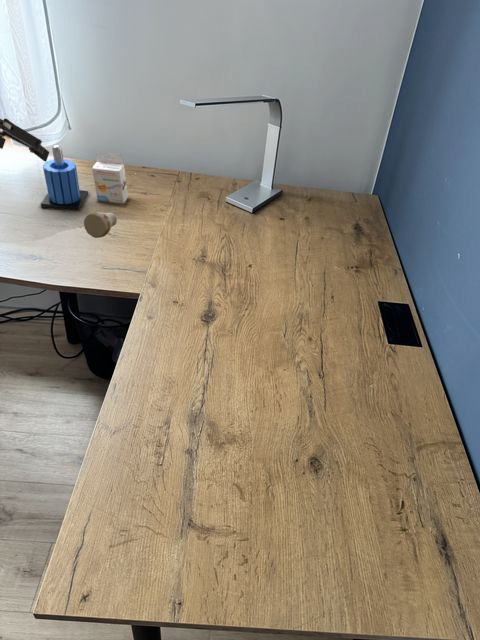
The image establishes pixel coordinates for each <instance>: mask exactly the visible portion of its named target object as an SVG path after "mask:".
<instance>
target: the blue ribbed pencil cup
mask: <svg viewBox="0 0 480 640" xmlns="http://www.w3.org/2000/svg"><path fill="white" fill-rule="evenodd" d="M63 160H64V166H65V169H55V163H54V159H50V160H47V161H45V162H44V163H43V164H42V170H43V176H44V180H45V185H46V191H47V194H48V197H49V199H50V200H51V201H52V202H54V203H57V204H64V203H65V204H71V203H74V202H76V201H78V200H79V199H80V190H81V189H80V183H79V177H78V170H77V165H76V163H75V162H74V161H72V160H69V159H64V158H63Z"/></svg>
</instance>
